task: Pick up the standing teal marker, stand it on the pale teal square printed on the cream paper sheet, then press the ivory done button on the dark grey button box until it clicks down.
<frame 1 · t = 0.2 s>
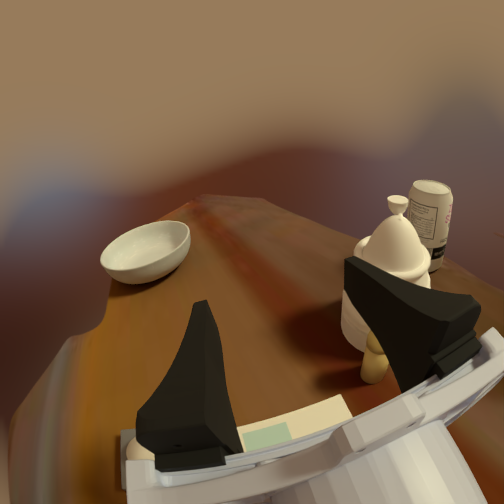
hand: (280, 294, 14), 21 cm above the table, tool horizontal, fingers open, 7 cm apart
done button: (150, 456, 22), point 3 cm above the table, slide at 0.0 cm
button box: (161, 463, 23), on the table
serving bowl: (153, 268, 61), on the table
honey pot: (383, 323, 37), on the table
supplement can: (422, 262, 46), on the table
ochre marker: (372, 373, 30), on the table
paper sheet: (296, 451, 23), on the table
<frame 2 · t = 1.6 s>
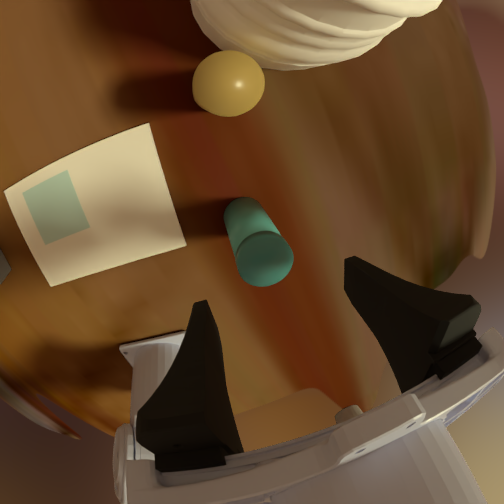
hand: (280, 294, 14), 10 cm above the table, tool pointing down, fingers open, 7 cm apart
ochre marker: (215, 90, 17), on the table
paper sheet: (86, 214, 19), on the table
teal marker: (243, 216, 22), on the table
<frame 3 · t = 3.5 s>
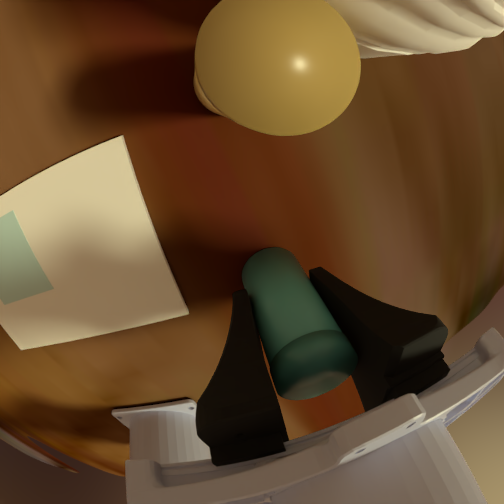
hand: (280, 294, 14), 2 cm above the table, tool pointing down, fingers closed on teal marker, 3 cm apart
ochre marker: (231, 81, 10), on the table
paper sheet: (47, 271, 12), on the table
teal marker: (270, 273, 15), on the table, touching gripper
when the fingers open (3 cm above the table, at t = 7.2 s): teal marker stays where it is, resting on paper sheet.
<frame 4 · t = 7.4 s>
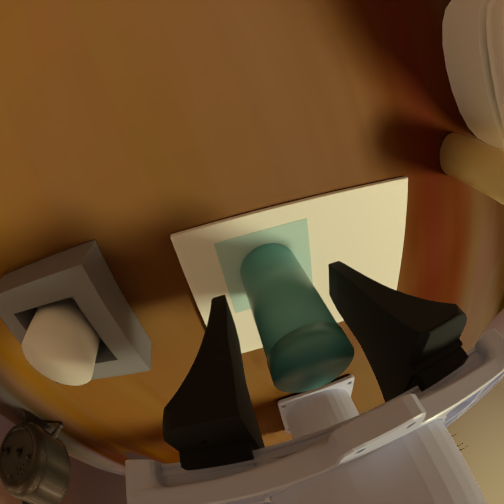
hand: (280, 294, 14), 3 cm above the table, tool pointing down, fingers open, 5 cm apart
done button: (62, 342, 12), point 3 cm above the table, slide at 0.0 cm
button box: (73, 311, 15), on the table
alarm clock: (36, 418, 21), on the table
honey pot: (486, 69, 12), on the table
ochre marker: (452, 154, 15), on the table
paper sheet: (310, 274, 17), on the table
teal marker: (268, 268, 16), resting on paper sheet
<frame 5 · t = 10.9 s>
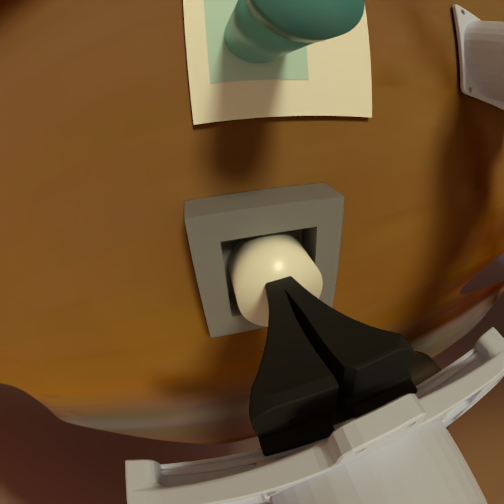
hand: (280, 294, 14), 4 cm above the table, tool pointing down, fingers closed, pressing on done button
done button: (273, 277, 15), point 3 cm above the table, slide at 0.0 cm, touching gripper
button box: (261, 252, 17), on the table
alarm clock: (382, 361, 29), on the table
teal marker: (257, 35, 11), resting on paper sheet
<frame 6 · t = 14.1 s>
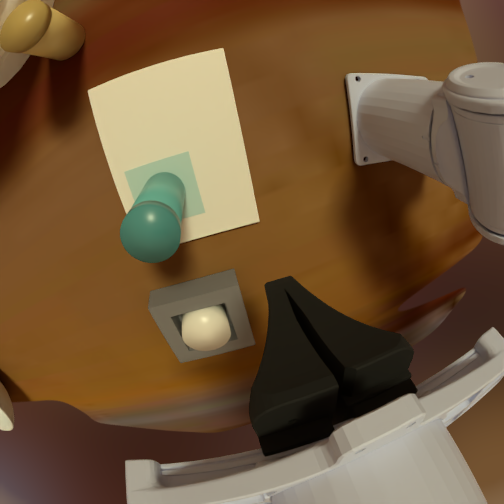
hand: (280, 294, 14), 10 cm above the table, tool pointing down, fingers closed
done button: (205, 323, 25), point 2 cm above the table, slide at -1.0 cm, touching button box
button box: (203, 311, 27), on the table
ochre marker: (66, 41, 12), on the table
paper sheet: (175, 154, 19), on the table
teal marker: (164, 192, 20), resting on paper sheet
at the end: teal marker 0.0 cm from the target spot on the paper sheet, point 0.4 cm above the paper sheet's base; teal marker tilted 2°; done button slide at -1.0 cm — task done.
